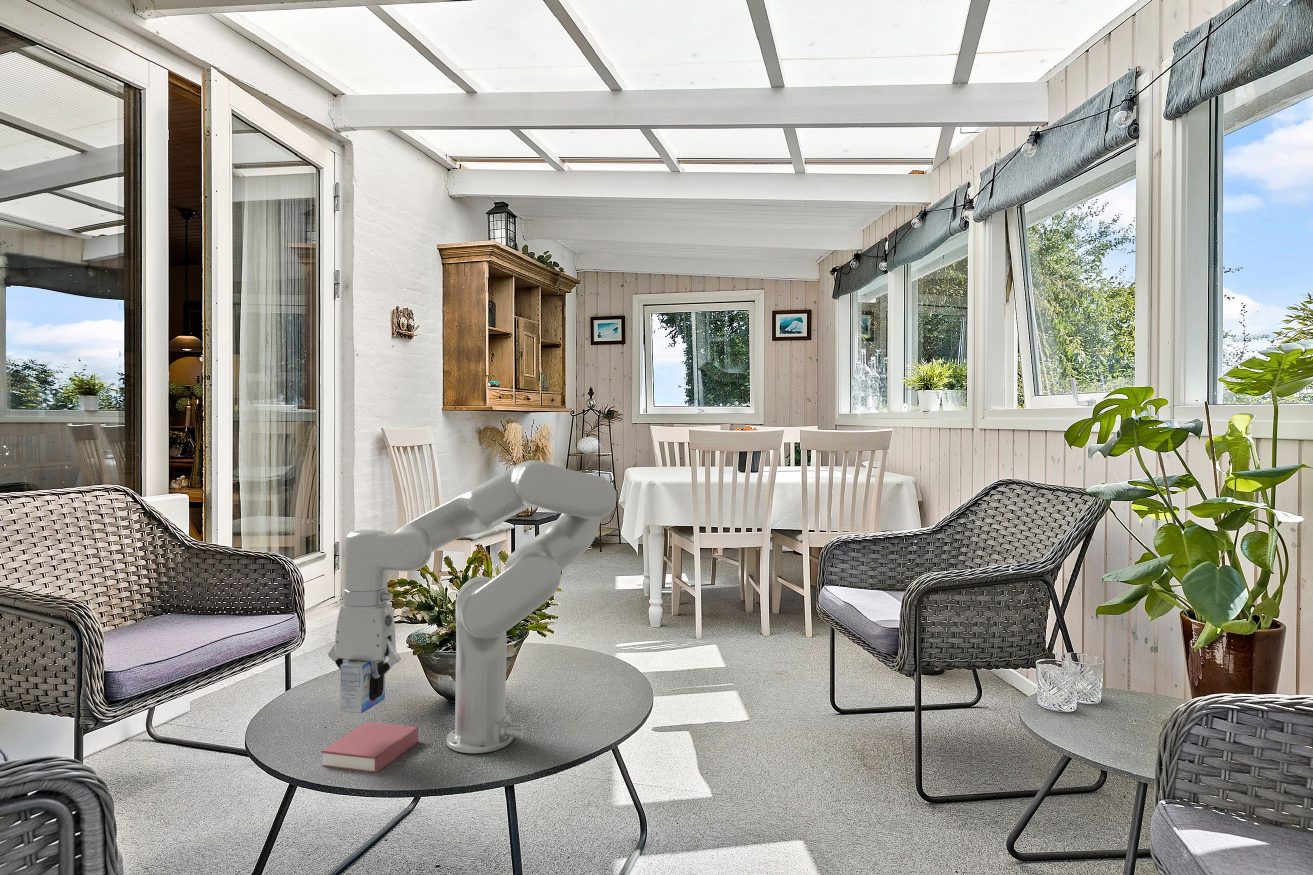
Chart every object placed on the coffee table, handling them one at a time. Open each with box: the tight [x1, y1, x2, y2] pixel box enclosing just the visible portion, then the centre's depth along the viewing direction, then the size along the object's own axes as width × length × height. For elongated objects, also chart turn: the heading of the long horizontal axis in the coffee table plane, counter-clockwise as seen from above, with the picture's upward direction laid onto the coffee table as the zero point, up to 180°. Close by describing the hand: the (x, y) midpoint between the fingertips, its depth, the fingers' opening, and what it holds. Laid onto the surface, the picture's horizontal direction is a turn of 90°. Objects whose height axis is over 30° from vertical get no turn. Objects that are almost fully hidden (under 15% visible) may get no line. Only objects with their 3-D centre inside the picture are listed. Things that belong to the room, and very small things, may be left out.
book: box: [321, 721, 419, 774], centre depth 140 cm, size 11×14×3 cm
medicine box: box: [339, 656, 387, 714], centre depth 139 cm, size 8×4×9 cm, turn 168°
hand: (363, 695), depth 139 cm, fingers closed on medicine box, 4 cm apart
